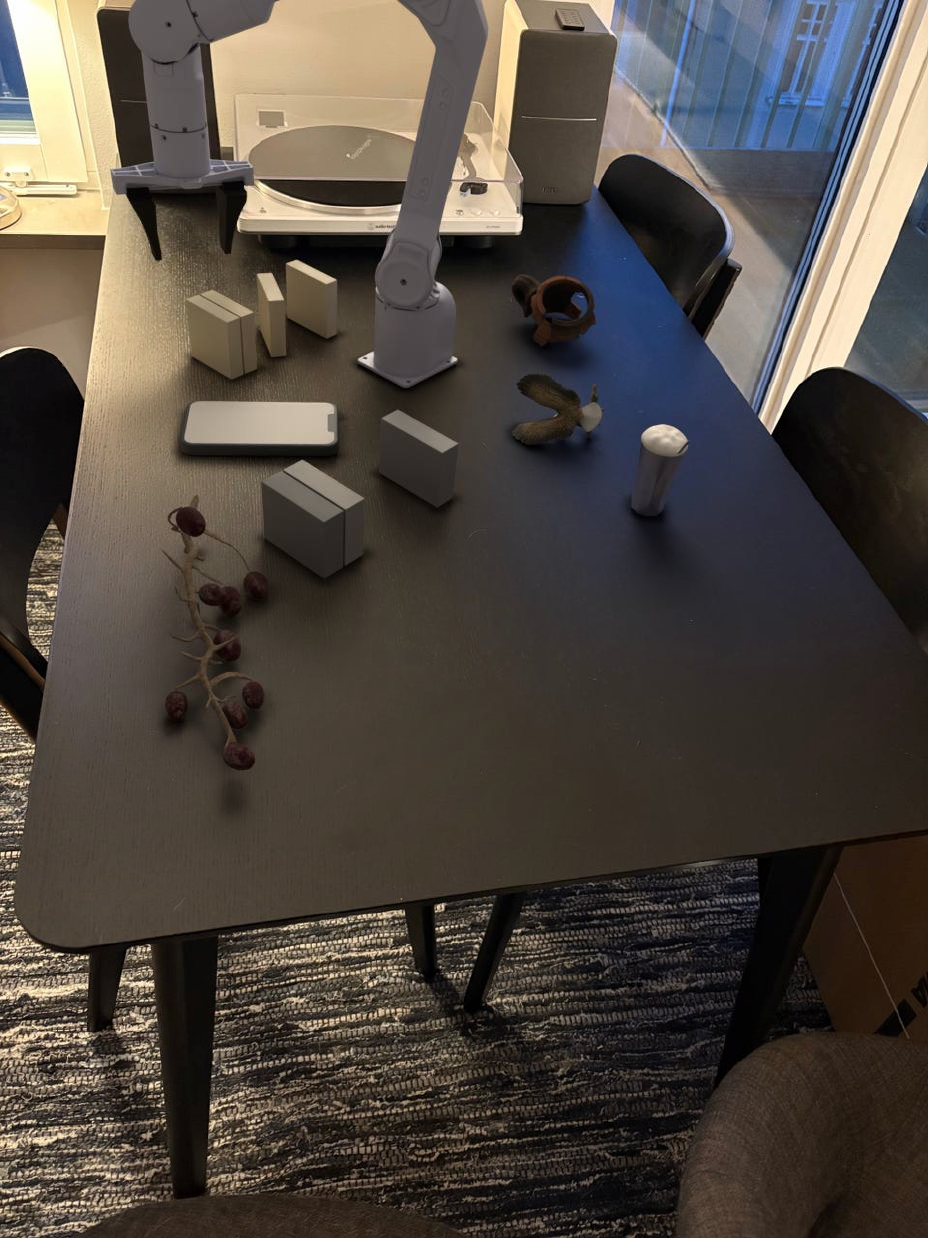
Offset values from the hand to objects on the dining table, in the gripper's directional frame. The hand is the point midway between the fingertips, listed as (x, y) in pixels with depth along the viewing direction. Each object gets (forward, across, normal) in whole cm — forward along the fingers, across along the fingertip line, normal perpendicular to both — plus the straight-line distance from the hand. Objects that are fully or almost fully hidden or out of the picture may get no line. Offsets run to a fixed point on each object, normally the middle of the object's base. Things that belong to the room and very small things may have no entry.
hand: (191, 253), depth 108 cm
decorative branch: (+11, -11, -49) cm, 52 cm away
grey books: (+10, +6, -38) cm, 40 cm away
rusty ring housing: (+11, +43, -9) cm, 45 cm away
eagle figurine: (+11, +32, -30) cm, 45 cm away
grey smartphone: (+11, +1, -22) cm, 24 cm away
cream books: (+10, +8, -3) cm, 13 cm away
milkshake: (+11, +34, -46) cm, 58 cm away
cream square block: (+10, +8, -3) cm, 13 cm away
